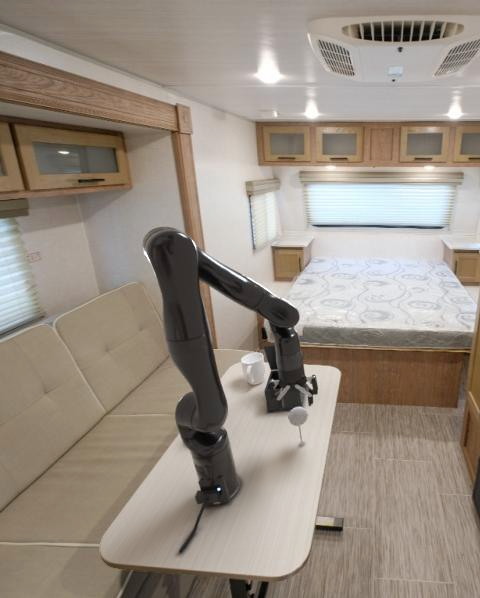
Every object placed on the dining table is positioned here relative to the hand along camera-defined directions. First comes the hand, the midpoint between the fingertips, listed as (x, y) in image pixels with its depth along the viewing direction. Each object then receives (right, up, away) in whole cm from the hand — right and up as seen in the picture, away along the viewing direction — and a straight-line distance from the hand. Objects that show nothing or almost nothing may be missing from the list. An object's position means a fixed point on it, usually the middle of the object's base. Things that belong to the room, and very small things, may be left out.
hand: (296, 405), depth 109 cm
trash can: (-12, -6, +28) cm, 31 cm away
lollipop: (0, -15, +6) cm, 16 cm away
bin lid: (-13, +11, +25) cm, 30 cm away
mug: (-29, -2, +37) cm, 47 cm away
